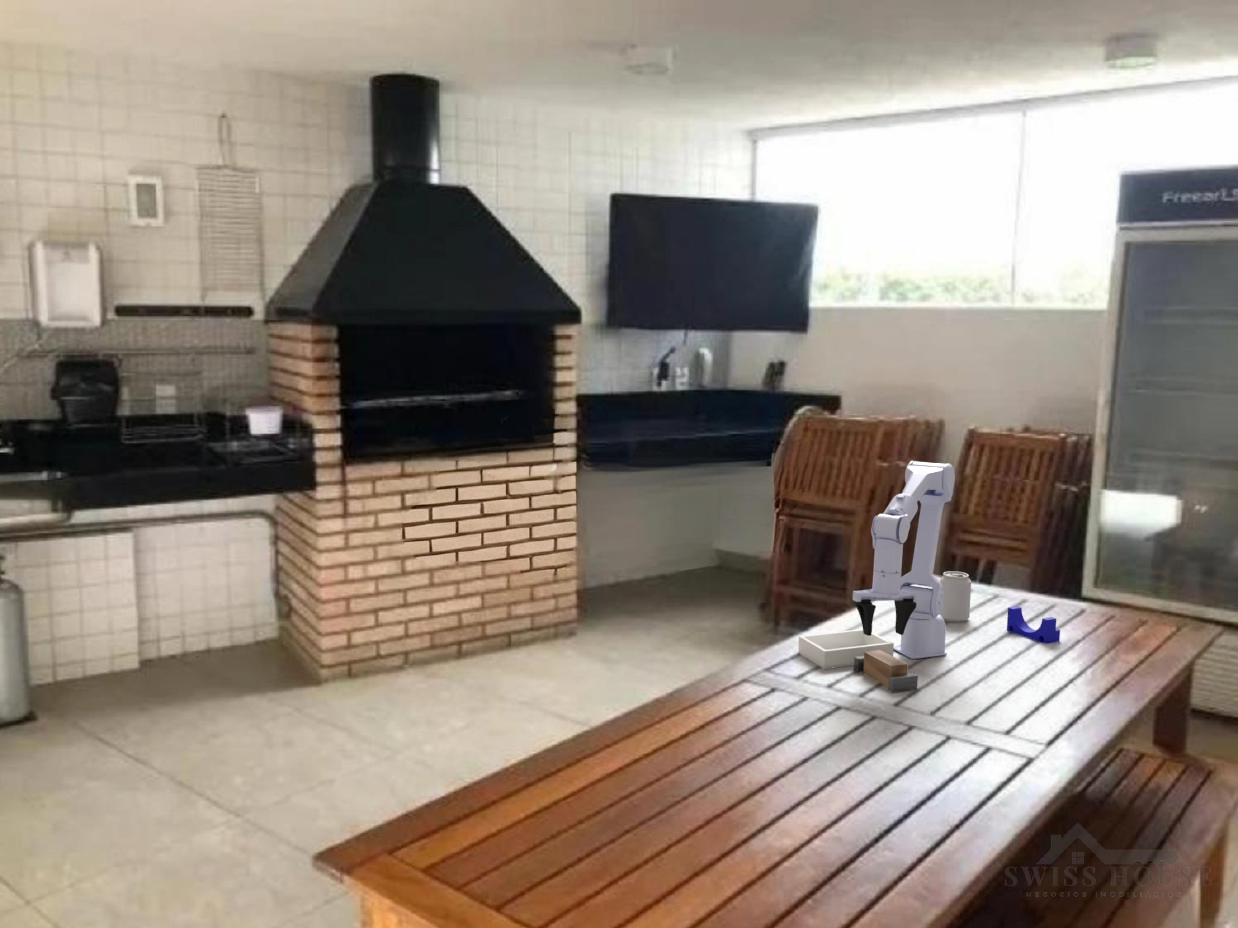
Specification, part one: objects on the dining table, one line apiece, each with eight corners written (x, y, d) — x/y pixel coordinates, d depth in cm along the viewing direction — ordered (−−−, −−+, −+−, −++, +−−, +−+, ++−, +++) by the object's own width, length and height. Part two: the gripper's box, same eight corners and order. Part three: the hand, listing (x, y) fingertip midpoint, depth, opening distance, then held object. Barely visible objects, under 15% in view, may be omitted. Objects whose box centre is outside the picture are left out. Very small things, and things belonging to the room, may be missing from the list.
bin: (864, 645, 247) (865, 628, 246) (893, 660, 236) (893, 643, 235) (798, 652, 241) (798, 636, 240) (824, 668, 230) (824, 651, 230)
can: (973, 623, 264) (975, 577, 262) (943, 623, 264) (945, 576, 263) (964, 615, 271) (966, 569, 270) (935, 614, 272) (937, 569, 270)
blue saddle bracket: (1059, 642, 250) (1060, 617, 249) (1045, 644, 248) (1047, 620, 247) (1020, 628, 260) (1021, 605, 259) (1006, 631, 258) (1007, 607, 258)
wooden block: (879, 671, 229) (879, 649, 228) (906, 686, 219) (907, 663, 219) (863, 674, 227) (864, 651, 227) (890, 689, 218) (891, 666, 217)
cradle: (877, 666, 231) (878, 653, 231) (917, 689, 217) (917, 675, 217) (853, 669, 229) (854, 656, 229) (892, 692, 216) (892, 678, 215)
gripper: (865, 574, 215) (861, 639, 217) (928, 574, 219) (923, 637, 220) (849, 568, 222) (845, 631, 223) (910, 567, 226) (906, 629, 227)
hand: (883, 634), depth 222 cm, fingers open, 7 cm apart
